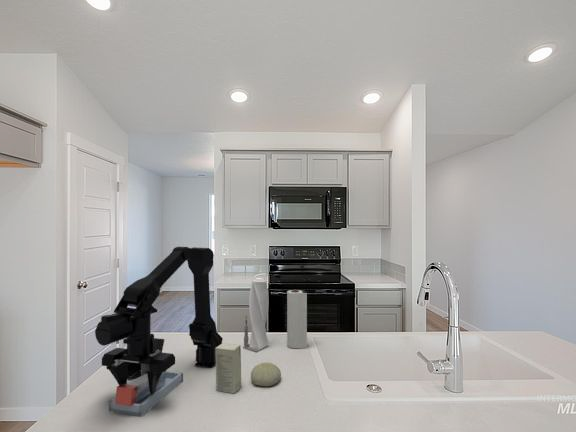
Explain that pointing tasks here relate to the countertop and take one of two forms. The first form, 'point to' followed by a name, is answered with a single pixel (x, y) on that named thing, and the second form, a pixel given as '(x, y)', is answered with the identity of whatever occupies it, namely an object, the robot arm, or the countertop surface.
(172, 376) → the tray
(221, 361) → the skincare box
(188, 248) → the robot arm
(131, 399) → the pin
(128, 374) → the block
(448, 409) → the countertop surface
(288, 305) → the paper towel roll
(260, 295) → the skyscraper
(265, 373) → the sea urchin shell
